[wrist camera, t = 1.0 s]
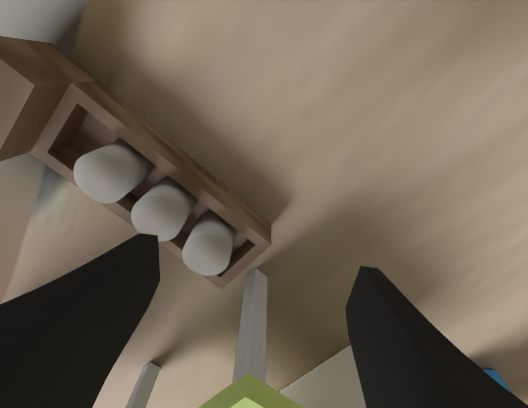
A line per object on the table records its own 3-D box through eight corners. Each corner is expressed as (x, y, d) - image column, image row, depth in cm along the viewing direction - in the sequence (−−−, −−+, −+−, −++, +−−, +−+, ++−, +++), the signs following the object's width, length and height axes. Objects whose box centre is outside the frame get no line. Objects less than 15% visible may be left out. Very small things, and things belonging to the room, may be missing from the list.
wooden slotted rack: (16, 109, 18) (-73, 121, 13) (52, 41, 16) (-35, 28, 12) (226, 266, 22) (215, 315, 18) (271, 225, 21) (271, 267, 16)
